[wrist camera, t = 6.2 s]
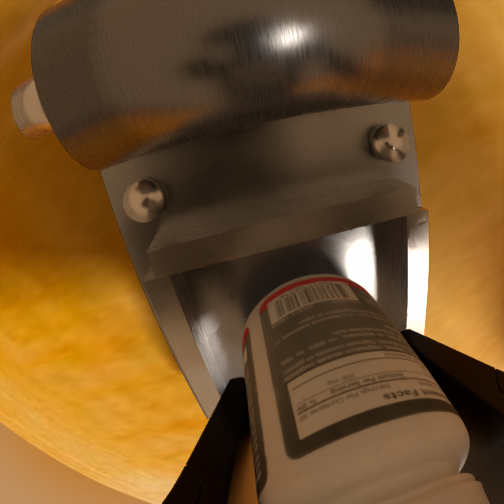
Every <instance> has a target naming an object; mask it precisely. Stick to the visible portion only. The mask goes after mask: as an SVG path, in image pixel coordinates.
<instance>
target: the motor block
mask: <svg viewBox="0 0 504 504" xmlns="http://www.w3.org/2000/svg"><path fill="white" fill-rule="evenodd" d="M458 51H459V25H458V18H457V13H456V9H455V6H454V2H453V0H64V1H62V2H60V3H58V4H56V5H54V6H52V7H51V8H49V9H47V10H46V11H44V12H43V13H42V14H41V16H40V17H39V19H38V21H37V23H36V25H35V28H34V32H33V36H32V45H31V63H32V71H33V76H32V77H31V78H29V79H27V80H26V81H24V82H22V83H21V84H19V85H18V86H16V88H15V89H14V91H13V93H12V98H11V109H12V114H13V117H14V120H15V122H16V124H17V126H18V128H19V129H20V131H21V132H22V133H23V134H24V135H25V136H26V137H28V138H29V139H33V140H36V139H39V138H41V137H43V136H45V135H47V134H49V133H51V132H53V131H54V133H55V135H56V136H57V138H58V139H59V141H60V142H61V144H62V145H63V146H64V148H65V149H66V150H67V151H68V153H69V154H70V155H71V156H72V157H73V158H74V159H75V160H76V161H78V162H79V163H80V164H81V165H83V166H85V167H86V168H88V169H91V170H94V171H100V172H101V175H102V178H103V181H104V185H105V188H106V191H107V194H108V197H109V200H110V203H111V206H112V209H113V212H114V214H115V217H116V220H117V223H118V226H119V229H120V231H121V234H122V237H123V239H124V242H125V245H126V247H127V250H128V253H129V255H130V258H131V260H132V263H133V265H134V268H135V270H136V273H137V275H138V278H139V280H140V283H141V285H142V287H143V290H144V292H145V294H146V297H147V299H148V301H149V304H150V306H151V308H152V310H153V313H154V315H155V317H156V319H157V322H158V324H159V326H160V328H161V330H162V332H163V334H164V337H165V339H166V341H167V343H168V345H169V347H170V349H171V351H172V353H173V355H174V357H175V359H176V361H177V363H178V365H179V367H180V369H181V371H182V373H183V375H184V377H185V379H186V381H187V383H188V385H189V387H190V389H191V390H192V392H193V394H194V396H195V398H196V400H197V402H198V403H199V405H200V407H201V409H202V411H203V412H204V414H205V416H206V418H207V419H208V418H209V419H210V417H211V415H212V413H213V411H214V409H215V407H216V405H217V403H218V401H219V399H220V397H221V395H222V393H223V391H224V389H225V387H226V385H227V383H228V381H229V380H230V379H232V378H237V377H243V378H244V379H245V376H244V365H243V355H242V335H243V330H244V326H245V324H246V321H247V319H248V317H249V315H250V314H251V312H252V311H253V309H254V308H255V307H256V306H257V304H258V303H259V302H260V301H261V300H262V299H263V298H264V297H266V296H267V295H268V294H269V293H270V292H272V291H273V290H274V289H276V288H277V287H279V286H281V285H282V284H284V283H286V282H289V281H291V280H294V279H296V278H299V277H303V276H307V275H314V274H334V275H339V276H343V277H346V278H349V279H351V280H353V281H355V282H357V283H358V284H359V285H361V286H362V287H363V288H365V289H366V290H367V291H368V292H369V293H370V295H371V296H372V297H373V298H374V299H375V300H376V302H377V303H378V304H379V306H380V307H381V308H382V309H383V311H384V312H385V313H386V314H387V316H388V317H389V318H390V319H391V321H392V322H393V323H394V325H395V326H396V327H397V329H398V330H399V331H403V330H406V329H411V330H413V331H416V332H418V333H420V334H422V335H424V326H425V315H426V302H427V285H428V210H426V209H424V208H423V207H421V200H420V186H419V174H418V164H417V154H416V146H415V138H414V131H413V124H412V118H411V112H410V106H409V101H420V100H427V99H430V98H432V97H434V96H436V95H437V94H438V93H440V92H441V91H442V90H443V89H444V87H445V86H446V84H447V83H448V82H449V80H450V78H451V76H452V74H453V71H454V68H455V65H456V62H457V56H458Z"/></svg>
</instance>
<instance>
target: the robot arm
mask: <svg viewBox="0 0 504 504" xmlns="http://www.w3.org/2000/svg"><path fill="white" fill-rule="evenodd" d="M400 333H401V334H402V336H403V337H404V339H405V340H406V341H407V343H408V344H409V346H410V347H411V348H412V350H413V351H414V352H415V354H416V355H417V356H418V358H419V359H420V360H421V361H422V363H423V364H424V365H425V367H426V368H427V370H428V371H429V372H430V374H431V375H432V377H433V378H434V380H435V381H436V382H437V384H438V385H439V387H440V388H441V390H442V391H443V393H444V394H445V395H446V397H447V399H448V400H449V401H450V403H451V404H452V406H453V407H454V408H455V410H456V411H457V412H458V414H459V416H460V418H461V419H462V421H463V423H464V425H465V427H466V429H467V431H468V435H469V439H470V441H469V453H468V456H467V459H466V462H465V464H464V466H463V467H462V469H461V471H460V472H459V474H460V473H470V474H472V475H473V476H474V477H475V480H476V481H479V482H481V483H482V486H483V489H484V492H485V494H486V496H487V498H488V500H489V502H490V504H504V372H503V371H501V370H498V369H495V368H494V367H492V366H490V365H487V364H485V363H483V362H481V361H479V360H476V359H474V358H472V357H470V356H468V355H466V354H463V353H461V352H459V351H457V350H455V349H453V348H450V347H448V346H446V345H444V344H442V343H439V342H437V341H435V340H433V339H431V338H429V337H426V336H424V335H422V334H420V333H418V332H416V331H413V330H411V329H406V330H403V331H400ZM162 504H258V498H257V492H256V480H255V471H254V464H253V453H252V444H251V434H250V425H249V415H248V406H247V395H246V386H245V379H244V378H243V377H237V378H232V379H230V380H229V381H228V383H227V385H226V387H225V389H224V391H223V393H222V395H221V397H220V399H219V401H218V403H217V405H216V407H215V409H214V411H213V413H212V415H211V417H210V419H209V421H208V423H207V425H206V427H205V429H204V431H203V433H202V435H201V436H200V438H199V440H198V442H197V444H196V446H195V448H194V450H193V452H192V454H191V456H190V457H189V459H188V461H187V463H186V466H185V467H184V468H183V470H182V472H181V474H180V476H179V478H178V479H177V481H176V483H175V484H174V486H173V488H172V489H171V491H170V492H169V494H168V495H167V497H166V498H165V500H164V501H163V502H162Z"/></svg>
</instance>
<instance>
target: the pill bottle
mask: <svg viewBox="0 0 504 504" xmlns="http://www.w3.org/2000/svg"><path fill="white" fill-rule="evenodd" d="M242 355H243V365H244V376H245V386H246V395H247V406H248V415H249V425H250V434H251V444H252V453H253V464H254V471H255V480H256V492H257V498H258V504H490V502H489V500H488V498H487V496H486V494H485V492H484V489H483V486H482V483H481V482H479V481H476V480H475V477H474V476H473V475H472V474H470V473H460V474H459V472H460V471H461V469H462V467H463V466H464V464H465V462H466V459H467V456H468V453H469V441H470V439H469V435H468V431H467V429H466V427H465V425H464V423H463V421H462V419H461V418H460V416H459V414H458V412H457V411H456V410H455V408H454V407H453V406H452V404H451V403H450V401H449V400H448V399H447V397H446V395H445V394H444V393H443V391H442V390H441V388H440V387H439V385H438V384H437V382H436V381H435V380H434V378H433V377H432V375H431V374H430V372H429V371H428V370H427V368H426V367H425V365H424V364H423V363H422V361H421V360H420V359H419V358H418V356H417V355H416V354H415V352H414V351H413V350H412V348H411V347H410V346H409V344H408V343H407V341H406V340H405V339H404V337H403V336H402V334H401V333H400V331H399V330H398V329H397V327H396V326H395V325H394V323H393V322H392V321H391V319H390V318H389V317H388V316H387V314H386V313H385V312H384V311H383V309H382V308H381V307H380V306H379V304H378V303H377V302H376V300H375V299H374V298H373V297H372V296H371V295H370V293H369V292H368V291H367V290H366V289H365V288H363V287H362V286H361V285H359V284H358V283H357V282H355V281H353V280H351V279H349V278H346V277H343V276H339V275H334V274H314V275H307V276H303V277H299V278H296V279H294V280H291V281H289V282H286V283H284V284H282V285H281V286H279V287H277V288H276V289H274V290H273V291H272V292H270V293H269V294H268V295H267V296H266V297H264V298H263V299H262V300H261V301H260V302H259V303H258V304H257V306H256V307H255V308H254V309H253V311H252V312H251V314H250V315H249V317H248V319H247V321H246V324H245V326H244V330H243V335H242Z"/></svg>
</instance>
